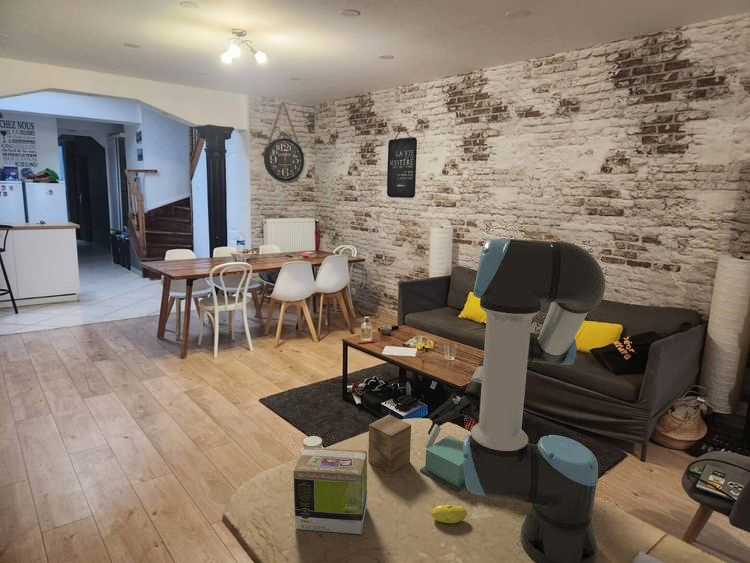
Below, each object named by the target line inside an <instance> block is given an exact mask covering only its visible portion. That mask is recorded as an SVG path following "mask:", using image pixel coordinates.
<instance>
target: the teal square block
mask: <svg viewBox="0 0 750 563" xmlns="http://www.w3.org/2000/svg"><path fill="white" fill-rule="evenodd" d="M463 455H464V454H463V440H461V439H459V438H456V437H454V436H452V435H449V434H447V435H446V436H445V437H443V438H442V439H440V440H438V441H437V442H435V443H434V444H433V446H431V447H429V448H428V449H427V448H426V451H425V469H426V470H427V471H429V472H431V473H433V474H435V475H437V476H439V477H441V478H443V479H445V480H446V481H448V482H450V483H452V484H454V485H456V486H459V485H460V484H462V483H463V482H464V481H465V477H464V456H463Z"/></svg>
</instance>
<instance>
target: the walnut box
mask: <svg viewBox="0 0 750 563" xmlns="http://www.w3.org/2000/svg"><path fill="white" fill-rule="evenodd" d="M411 440H412V424H410V423H408V422H406V421H404V420H402V419H400V418H397V417H395V416H393V415H391V414H387V415H385V416H383V417H381V418H379V419H377V420H375V421H373V422H372V423H369V424H368V450H367V451H368V452H367V462H368V461H369V462H368V463H369V464H372V465H373V464H374V465H373V466H375V465H376V466H375V467H377V468H379V469H380V468H381V469H380V470H382V471H383V472H386V473H387V472H388V474H389V473H390V474H389V475H392V474H393V473H394V471H395V472H396V471H397V469H398V470H399V469H400V468H402V467H405V465H407V464H408V463H410V462H411V445H412V444H411V443H412V442H411ZM392 472H393V473H392Z"/></svg>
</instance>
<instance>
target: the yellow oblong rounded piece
mask: <svg viewBox="0 0 750 563" xmlns="http://www.w3.org/2000/svg"><path fill="white" fill-rule="evenodd" d="M467 516H468V511H467V510H466V508H464V506H462V505H454V504H442V505H440V504H438V505H436V506H434V507H433V509H432V512H431V517H432V518H433V520H434V521H437V522H440V523H442V524H443V523H445V524H457V523H460V522H462V521H463V520H465V519H466V518H467Z"/></svg>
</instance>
